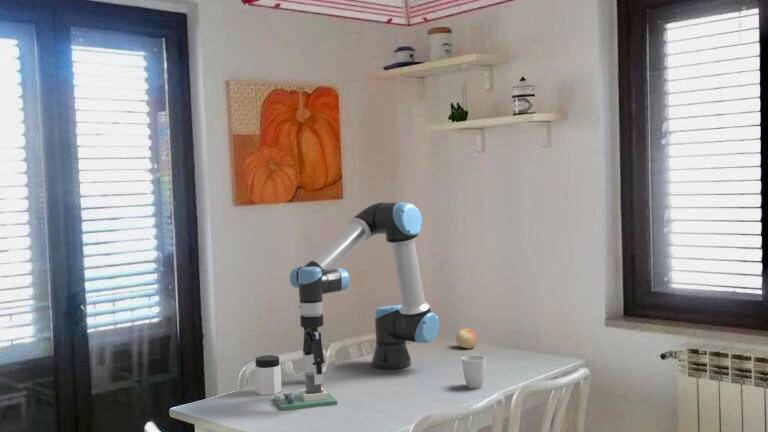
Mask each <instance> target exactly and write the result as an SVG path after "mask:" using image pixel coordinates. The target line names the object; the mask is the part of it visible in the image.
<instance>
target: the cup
mask: <svg viewBox="0 0 768 432" xmlns="http://www.w3.org/2000/svg"><path fill="white" fill-rule="evenodd" d="M461 359H462V362H461V363H462V371H463V377H464V381H465V384H466V387H467V388H469V389H481V388H482V387H483V384H484V380H485V374H486V363H487V361H486V360H487V357H486V356H484V355H478V354H472V355H471V354H470V355H464V356H463V357H461Z"/></svg>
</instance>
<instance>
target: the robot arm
mask: <svg viewBox="0 0 768 432" xmlns="http://www.w3.org/2000/svg"><path fill="white" fill-rule="evenodd" d="M422 225H423V220H422V215H421V212H420V210H419V209H418V208H417V206H416V205H414V204H413V203H409V202H402V201H400V202H395V201H394V202H383V201H382V202H376V203H374V204H373V203H372V204H371V205H369V206H367V207H366V208H364V209H362V211H359V212H358V213H357V214H356V215H355V216H353V218H352V219H350V221H349V225H348V226H347V227H345V229H343V230H342V231H341V232H340V233H339V234H338V235H337V236H336V237H334V238H333V239H332V240H331V242H329V243H328V244H327V245H326V246H325V247H323V249H322V250H321V251H319V252H318V253H317V254H316V255H314V257H313V258H312V259H311V260H310V261H309V262H307V263H306V264H305V265H304V266H296V267H294V268H293V269H292V270H291V272H290V274H289V282H290V285H291V286H292V287H294V288H296V289H298V297H299V299H298V300H299V305H298V306H297V309H299V314H300V317H299V319H300V320H299V321H300V327H301V328H303V342H302V343H303V345H302V346H303V347H302V353H303V352H304V354H305V355H306V356H305V371H306V373H307V372H314V381H315V385H316V384H321V385H322V384H324V372H323V367H324V364H325V357H324V355H323V350H324V349H323V343H322V333H321V332H320V331H319V330H318V328H321V327H323V326H324V314H323V313H324V309H323V308H324V305H323V301H324V300H323V295H326V294H331V293H337V292H342V291H344V290H347V289H348V287H349V285H350V281H351V280H350V275H349V273H348V271H347V270H346V269H344V268H335V267H336V266H337V265H339V263H341V262H342V261H343V260H344V259H345V258H346V257H347V256H348V255H349V254H351V253H352V252H353V251H354V249H356V248H357V247H358V246H359V245H360V244H361V243H362V242H363V241H367V240H369V239H370V238H371V237H372V236H375V235H378V234H379V235H381V234H382V235H383V234H384V235H385V238H386V242H387V243H388V244H389V245H391V248H392V254H393V259H394V264H395V265H394V267H395V271H396V272H395V273H396V277H397V282H398V288H399V294H400V299H401V304H393V305H385V306H380V307H378V308H377V309H375V317H374V319H375V321H374V322H375V324H374V325H375V348H374V352H373V356H372V357H371V366H372V367H373V368H376V369H382V370H383V369H384V370H397V369H403V368H408V367H410V366H412V360H411V359H412V358H411V355H410V352H409V350H408V347H407V342H410V343H411V342H412V343H417V344H429V343H431V342H432V341H434V340H435V338H436V337H437V335H438V333H439V329H440V318H439V317H438V315H437V314H436V313H434V312H432V311H431V306H430V304H429V303H428V302H427V301H426V299H425V293H424V287H423V283H422V277H421V276H422V275H421V271H420V265H419V264H420V263H419V260H418V259H419V258H418V254H417V248H416V242H415V241H416V240H417V238H418V236H419V235H418V234H419V232H420V231H421V229H422V227H421V226H422ZM311 354H313V355H311ZM313 357H314V362H313Z"/></svg>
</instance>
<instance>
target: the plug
mask: <svg viewBox="0 0 768 432" xmlns="http://www.w3.org/2000/svg"><path fill="white" fill-rule="evenodd" d="M321 387H322V384H316V385H315V381H314V372H307V373H306V383H305V389H306V394H307V395H308V394H317V393H321V391H322V388H323V387H322V388H321Z"/></svg>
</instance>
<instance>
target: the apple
mask: <svg viewBox="0 0 768 432" xmlns="http://www.w3.org/2000/svg"><path fill="white" fill-rule="evenodd" d="M477 340H478V337H477V333H476V332H475V331H474V330H473V329H470V328H462V329H459V330H458V331H457V333H456V335H455V342H456V345H457V346H458V347H461V348H465V349H472V348H474V347H475V346H476V344H477V342H478V341H477Z"/></svg>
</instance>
